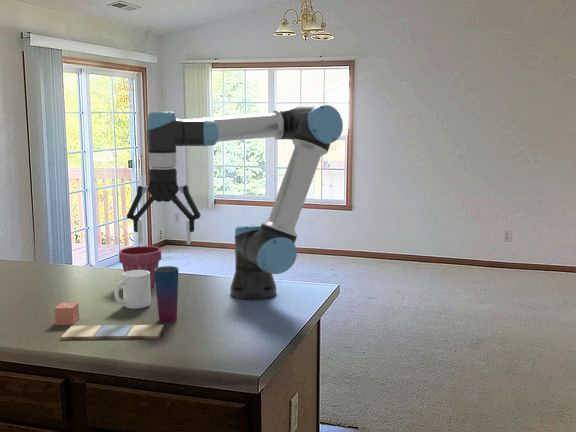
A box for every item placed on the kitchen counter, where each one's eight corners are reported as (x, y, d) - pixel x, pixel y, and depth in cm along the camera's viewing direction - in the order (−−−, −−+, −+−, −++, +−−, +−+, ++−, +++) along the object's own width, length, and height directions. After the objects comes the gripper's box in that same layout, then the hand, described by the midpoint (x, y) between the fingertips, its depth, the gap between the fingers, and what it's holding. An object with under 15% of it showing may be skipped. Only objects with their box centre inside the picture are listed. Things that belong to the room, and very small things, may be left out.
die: (79, 319, 177) (78, 302, 177) (73, 325, 172) (72, 307, 172) (61, 319, 177) (60, 302, 176) (55, 325, 172) (54, 307, 172)
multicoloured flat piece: (164, 327, 170) (164, 324, 170) (158, 338, 161) (158, 335, 161) (71, 328, 169) (71, 325, 169) (60, 339, 161) (60, 336, 160)
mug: (122, 314, 182) (121, 280, 180) (107, 308, 188) (106, 275, 186) (156, 305, 191) (155, 272, 189) (141, 299, 196) (139, 268, 195)
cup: (156, 324, 173) (155, 272, 170) (155, 317, 179) (153, 267, 177) (181, 322, 174) (179, 270, 172) (178, 315, 181) (177, 265, 179)
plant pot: (127, 280, 220) (126, 245, 218) (166, 280, 220) (165, 245, 218) (114, 291, 206) (113, 254, 204) (156, 291, 205) (155, 254, 203)
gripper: (209, 167, 174) (210, 240, 177) (120, 166, 173) (123, 240, 176) (206, 169, 167) (207, 245, 170) (113, 168, 166) (116, 246, 169)
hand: (164, 243), depth 173 cm, fingers open, 13 cm apart
